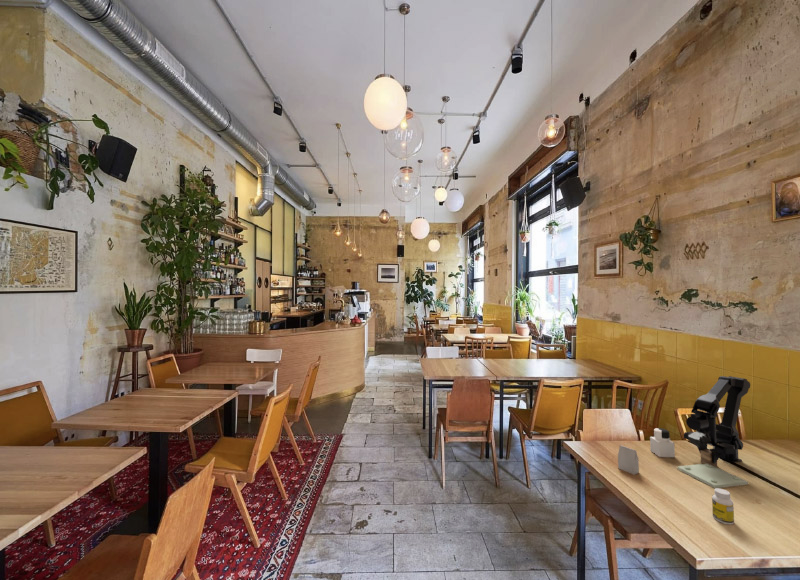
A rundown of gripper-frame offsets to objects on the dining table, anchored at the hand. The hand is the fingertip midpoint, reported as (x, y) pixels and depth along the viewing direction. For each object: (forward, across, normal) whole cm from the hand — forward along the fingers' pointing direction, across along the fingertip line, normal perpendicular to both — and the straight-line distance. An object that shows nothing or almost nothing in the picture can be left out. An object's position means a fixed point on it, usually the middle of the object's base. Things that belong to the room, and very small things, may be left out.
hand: (708, 461), depth 158 cm
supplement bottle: (+2, +34, -36) cm, 50 cm away
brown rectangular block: (+2, 0, 0) cm, 2 cm away
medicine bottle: (+2, -13, -11) cm, 17 cm away
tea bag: (+2, -2, -40) cm, 40 cm away
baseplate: (+2, +9, -10) cm, 14 cm away
